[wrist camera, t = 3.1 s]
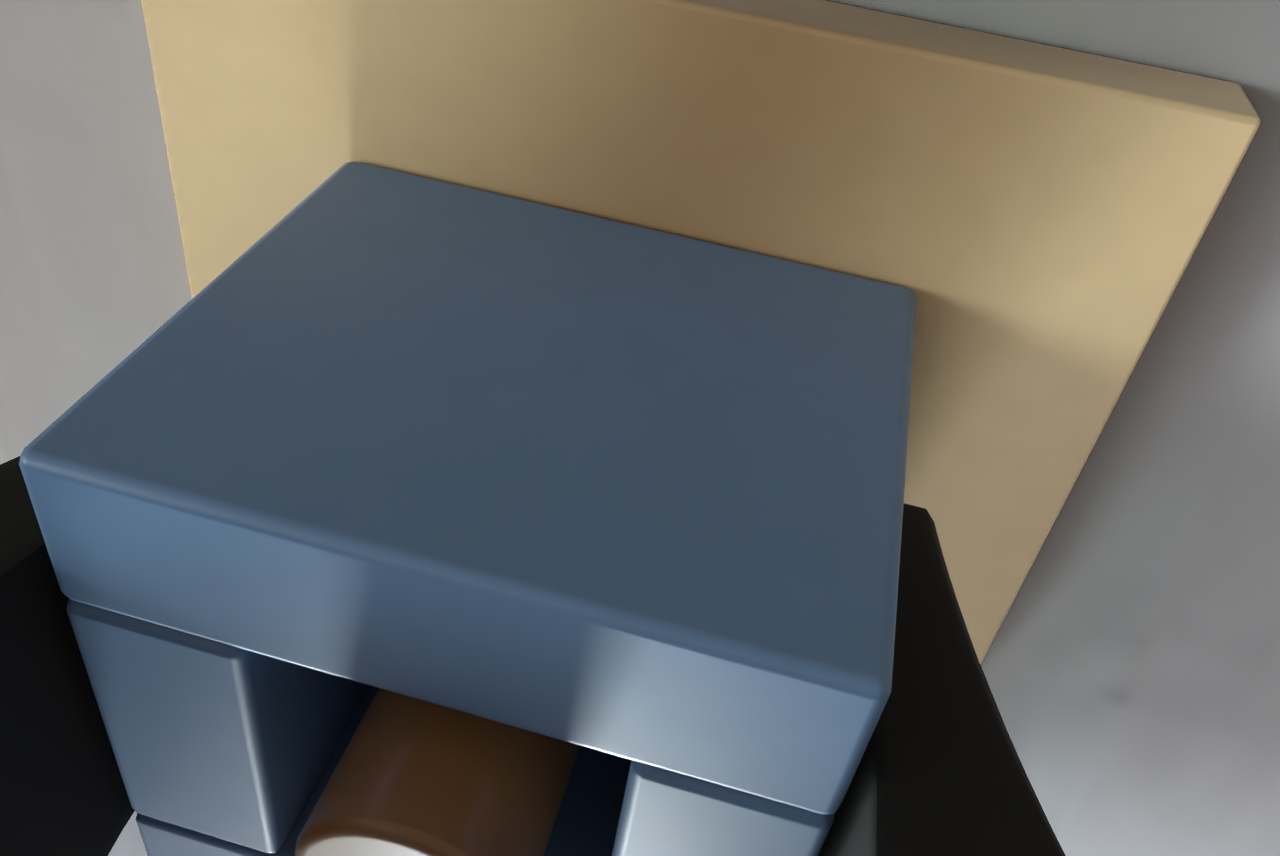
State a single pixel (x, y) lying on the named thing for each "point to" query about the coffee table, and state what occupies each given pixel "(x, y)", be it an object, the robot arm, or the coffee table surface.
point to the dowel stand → (731, 245)
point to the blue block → (492, 519)
